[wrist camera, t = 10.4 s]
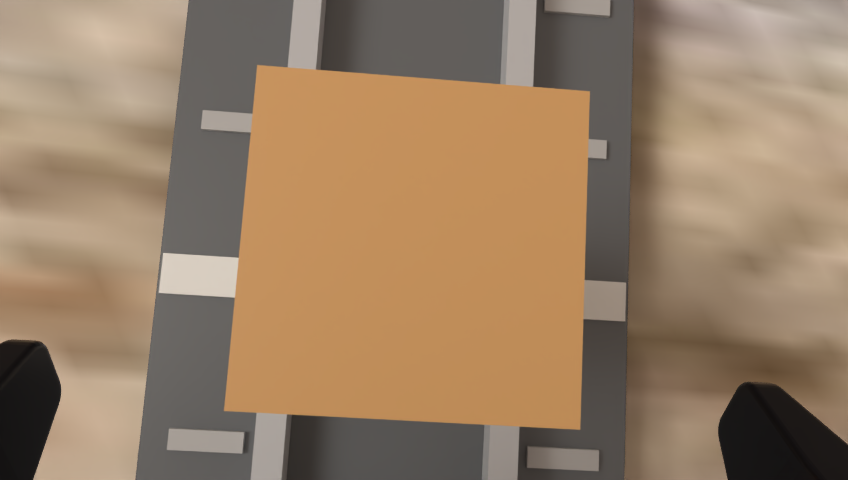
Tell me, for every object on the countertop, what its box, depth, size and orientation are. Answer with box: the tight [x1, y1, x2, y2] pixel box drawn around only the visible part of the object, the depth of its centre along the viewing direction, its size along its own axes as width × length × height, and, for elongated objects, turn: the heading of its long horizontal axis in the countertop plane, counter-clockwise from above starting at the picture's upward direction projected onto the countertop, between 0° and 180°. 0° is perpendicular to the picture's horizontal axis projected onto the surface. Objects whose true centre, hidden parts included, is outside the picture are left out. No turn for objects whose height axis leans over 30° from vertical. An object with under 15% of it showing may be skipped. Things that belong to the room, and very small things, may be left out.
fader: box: [224, 65, 590, 430], centre depth 12 cm, size 4×4×10 cm
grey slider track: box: [136, 0, 634, 480], centre depth 17 cm, size 24×12×3 cm, turn 177°
